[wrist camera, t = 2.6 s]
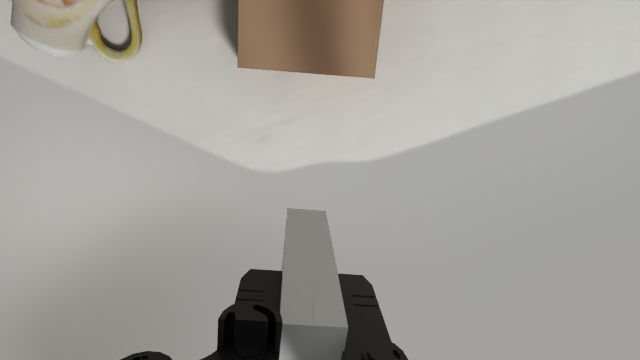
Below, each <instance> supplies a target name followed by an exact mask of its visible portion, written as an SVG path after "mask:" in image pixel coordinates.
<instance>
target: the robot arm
mask: <svg viewBox="0 0 640 360" xmlns="http://www.w3.org/2000/svg"><path fill="white" fill-rule="evenodd" d="M121 360H172V359H171V358H170V357H169V356H167V355H165V354H163V353H161V352H152V351H146V352H141V353H136V354H132V355H130V356H128V357H126V358H123V359H121ZM201 360H408V359H407V357H406V355H405V354H404V352H403V351H402V350H401V349H400V348H399V347H398V346H396V345H395V344H394V343H392V342H391V340H390V337H389V334H388V331H387V328H386V325H385V322H384V319H383V316H382V313H381V311H380V308H379V304H378V301H377V299H376V296H375V293H374V290H373V287H372V285H371V284H370V283H369V282H368V281H367V280H366V279H365V277H364V276H363V275H350V274H338V272H337V267H336V263H335V257H334V252H333V247H332V242H331V237H330V231H329V226H328V222H327V216H326V211H316V210H304V209H291V208H288V209H287V219H286V229H285V240H284V251H283V262H282V271H272V270H256V269H250V270H249V271H248V272H247V273H246V274H245V275H244V276H243V277H242V278H241V281H240V285H239V289H238V293H237V296H236V301H235V304H234V305H231V306H230V307H228V308H227V309H226V310H224V311H223V312H222V314H221V316H220V317H219V319H218V346H217V351H215V352H214V353H212V354H211V355H209V356H207V357H205V358H203V359H201Z"/></svg>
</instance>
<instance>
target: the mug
mask: <svg viewBox="0 0 640 360" xmlns="http://www.w3.org/2000/svg"><path fill="white" fill-rule="evenodd" d="M112 1H113V0H13V4H12V15H11V25H12V27H13V29H14V30H15V31H16V32H17V33H18V35H19V36H20V37H21V38H22V39H23V40H24V41H25V42H26V43H27V44H29V45H30V46H31V47H33V48H34V49H36V50H38V51H41V52H42V53H45V54H48V55H52V56H58V57H68V56H72V55H75V54H78V53H80V52H82V51H84V50H85V49H86V48H87V47H88V46H89V45H91V46H93V47H94V49H95V50H96V51H97V52H98V54H99V55H100V56H101V57H102V58H104V59H106V60H108V61H110V62H121V63H122V62H127V61H130V60H131V59H133V58H134V57H135V56H136V55H137V53H138V52H139V50H140V46H141V42H142V31H141V25H140V20H139V14H138V7H137V0H124V3H125V7H126V10H127V14H128V18H129V22H130V28H131V43H130V45H129V46H128V47H127V49H124V50H121V51H119V50H114V49H112V48H109V47H108V46H106V45H105V44H104V43H103V41H102V39H101V31H100V28H99V27H98V25H97V22H96V19H97V17H98V16H99V15H100V13H101V12H102V11H103V10H104V9H105V8H106V7H107V6H108V5H109V4H110V3H111V2H112Z"/></svg>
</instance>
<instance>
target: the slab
mask: <svg viewBox="0 0 640 360" xmlns="http://www.w3.org/2000/svg"><path fill="white" fill-rule="evenodd" d="M383 2H384V0H238V68H250V69H263V70H276V71H288V72H301V73H313V74H326V75H338V76H351V77H364V78H375V69H376V61H377V52H378V44H379V36H380V27H381V19H382V10H383Z"/></svg>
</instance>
